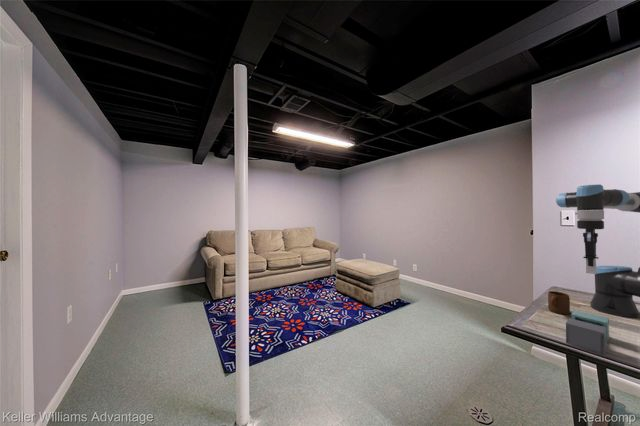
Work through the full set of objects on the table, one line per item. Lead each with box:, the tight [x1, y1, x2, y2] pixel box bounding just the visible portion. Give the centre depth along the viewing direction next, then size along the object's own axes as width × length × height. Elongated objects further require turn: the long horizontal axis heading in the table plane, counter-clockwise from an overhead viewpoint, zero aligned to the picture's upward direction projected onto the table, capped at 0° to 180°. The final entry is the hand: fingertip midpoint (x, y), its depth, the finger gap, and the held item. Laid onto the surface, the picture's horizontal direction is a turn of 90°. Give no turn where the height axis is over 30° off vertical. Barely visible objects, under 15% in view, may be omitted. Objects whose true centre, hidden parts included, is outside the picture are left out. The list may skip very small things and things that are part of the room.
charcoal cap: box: [565, 317, 608, 356], centre depth 85 cm, size 7×9×8 cm
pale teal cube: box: [570, 309, 610, 343], centre depth 93 cm, size 7×9×8 cm
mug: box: [547, 290, 571, 316], centre depth 113 cm, size 12×8×9 cm, turn 118°
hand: (591, 273), depth 97 cm, fingers closed
